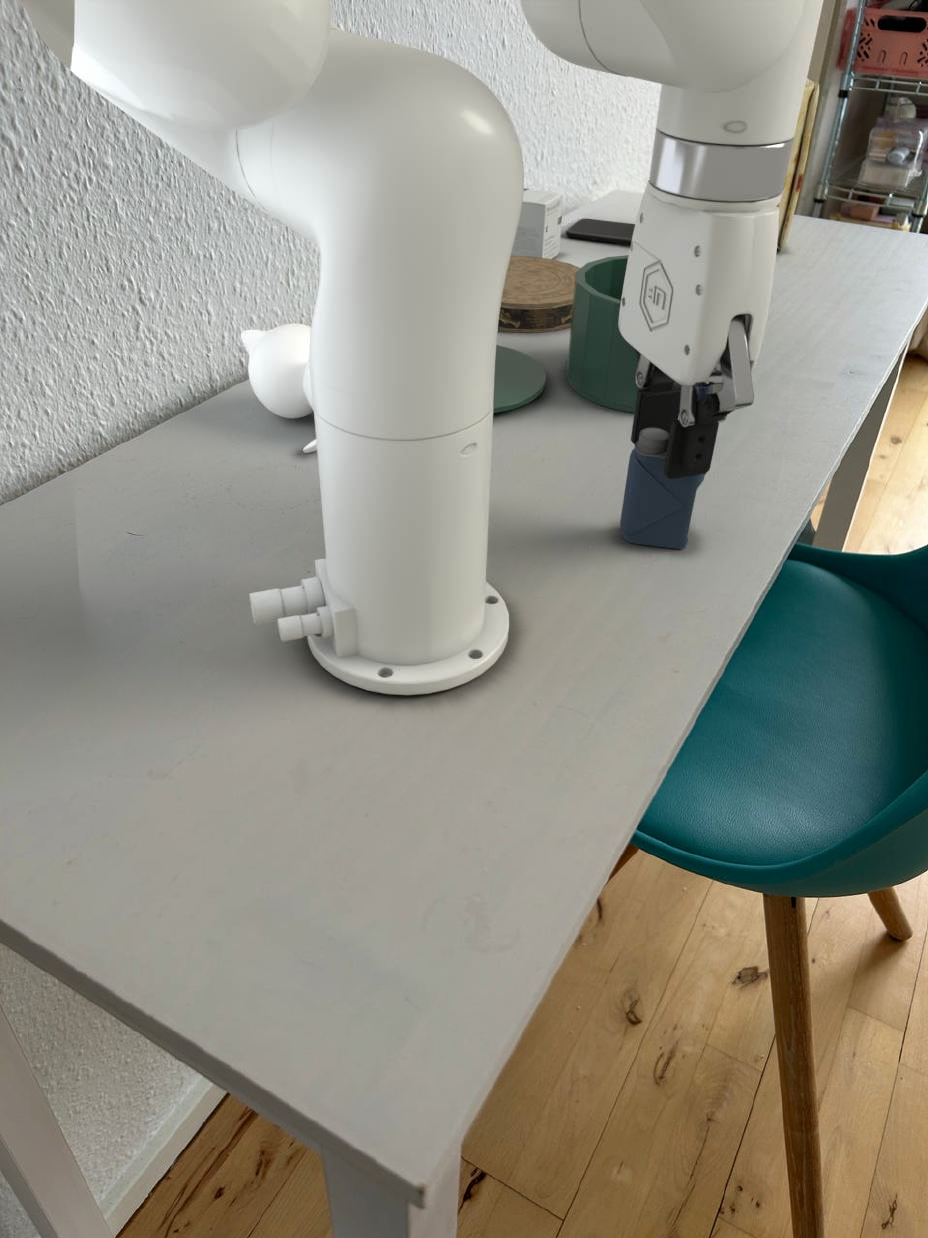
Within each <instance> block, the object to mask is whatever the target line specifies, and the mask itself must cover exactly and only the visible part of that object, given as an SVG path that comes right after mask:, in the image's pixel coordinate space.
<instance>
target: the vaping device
mask: <svg viewBox="0 0 928 1238" xmlns="http://www.w3.org/2000/svg"><path fill="white" fill-rule="evenodd" d="M698 387H699V388H698V401H699V400H700V399H701V398H703V397H704V396H705V395H707V394H711V388H712V385H706V386H698ZM669 436H670V435H669V433H668V432H667V431H665V430H663V429H659V428H645V429H643V430H641V431H640V435H639V441H638V442H636V444H635V445H634V448H633V449H632V450H631V451H630V455H629V460H628V466H627V473H626V479H625V488H624V494H623V499H622V506H621V507H622V508H621V513H620V522H619V527H620V531H621V536H622V538H623V539H624V540H625V541H626V542H628V543H631V544H636V545H643V546H651V547H659V548H667V549H677V550H682V549H686V547H687V545H688V544H689V537H688V535H689V531H690V525H691V522H692V521H691V520H692V515H693V510H694V507H695V501H696V495H697V491H698V489H699V487H700V486H701V485H702V483H703V482H704V481H705V477H706V475H707V473H705V474H700V475H693V476H687V477H681V478H675V479H669V478H668V477H667V476H666V475H665V474H664V466H665V460H666V454H667V448H668V442H669Z"/></svg>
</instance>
